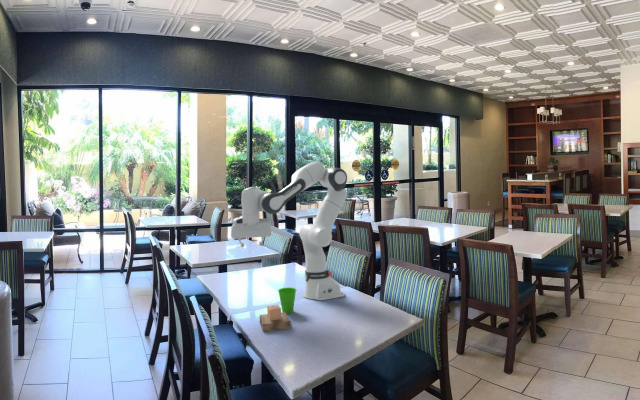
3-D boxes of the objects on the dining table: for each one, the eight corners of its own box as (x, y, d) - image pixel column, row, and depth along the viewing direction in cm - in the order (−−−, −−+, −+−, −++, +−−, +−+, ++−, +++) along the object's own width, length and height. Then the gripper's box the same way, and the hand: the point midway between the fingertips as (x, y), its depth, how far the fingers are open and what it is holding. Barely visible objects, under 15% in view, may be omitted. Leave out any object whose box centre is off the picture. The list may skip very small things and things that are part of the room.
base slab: (285, 320, 199) (285, 312, 199) (290, 329, 188) (290, 321, 187) (259, 323, 196) (259, 314, 196) (263, 333, 185) (262, 324, 184)
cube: (278, 315, 194) (278, 304, 194) (281, 319, 190) (280, 308, 189) (267, 317, 193) (267, 306, 192) (270, 320, 188) (269, 309, 188)
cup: (276, 310, 212) (275, 288, 211) (294, 307, 215) (293, 286, 214) (281, 316, 204) (280, 293, 203) (299, 313, 207) (298, 291, 206)
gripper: (270, 217, 222) (271, 243, 223) (230, 219, 217) (231, 246, 218) (272, 218, 216) (272, 245, 217) (230, 220, 211) (231, 248, 212)
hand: (251, 246), depth 217 cm, fingers open, 8 cm apart
